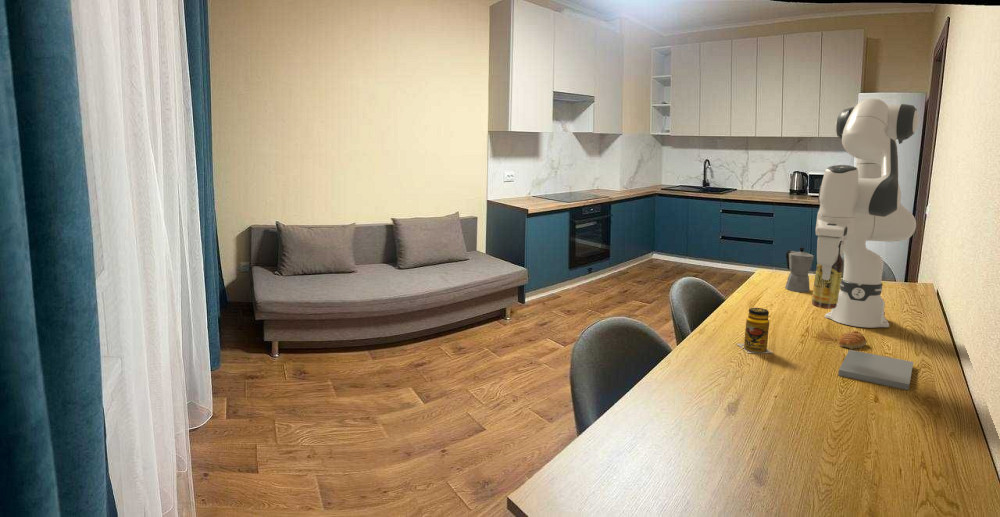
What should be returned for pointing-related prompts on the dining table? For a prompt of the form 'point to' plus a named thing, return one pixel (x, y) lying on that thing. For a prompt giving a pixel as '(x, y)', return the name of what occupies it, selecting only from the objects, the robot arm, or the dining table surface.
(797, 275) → the coffeepot
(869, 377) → the serving board
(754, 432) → the dining table surface
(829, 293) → the sauce bottle
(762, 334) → the condiment
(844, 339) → the pastry
